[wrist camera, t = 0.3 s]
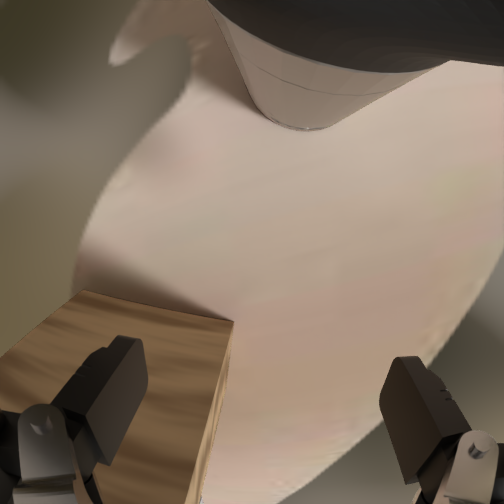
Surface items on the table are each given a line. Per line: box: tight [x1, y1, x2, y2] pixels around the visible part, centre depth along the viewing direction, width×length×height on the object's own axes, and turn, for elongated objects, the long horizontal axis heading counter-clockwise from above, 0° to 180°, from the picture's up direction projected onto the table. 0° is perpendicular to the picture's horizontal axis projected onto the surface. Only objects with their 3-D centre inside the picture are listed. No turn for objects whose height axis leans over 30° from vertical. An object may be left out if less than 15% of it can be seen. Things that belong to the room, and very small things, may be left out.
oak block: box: [0, 290, 234, 504], centre depth 19 cm, size 9×17×24 cm, turn 83°
